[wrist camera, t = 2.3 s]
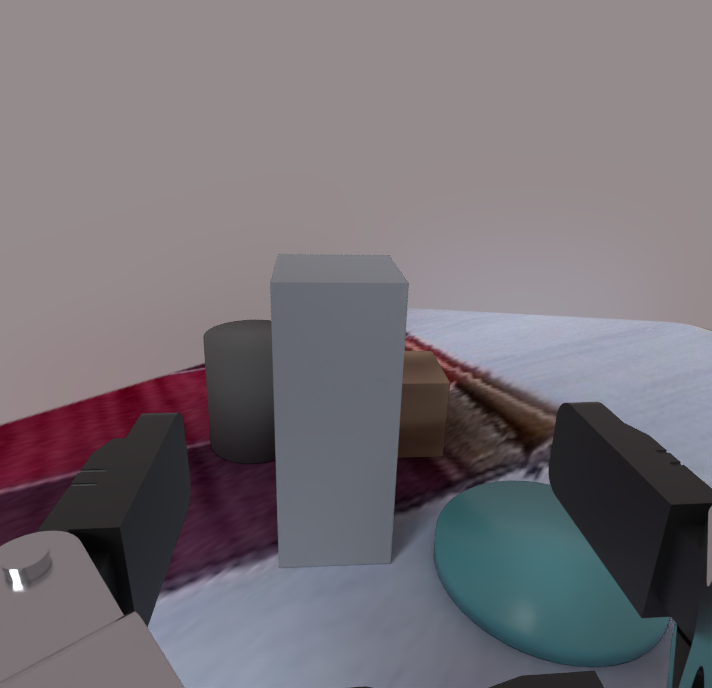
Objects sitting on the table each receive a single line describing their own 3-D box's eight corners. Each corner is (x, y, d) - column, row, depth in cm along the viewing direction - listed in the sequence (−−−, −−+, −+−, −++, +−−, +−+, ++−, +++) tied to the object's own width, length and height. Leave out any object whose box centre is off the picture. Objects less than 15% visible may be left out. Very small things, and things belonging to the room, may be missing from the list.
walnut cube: (442, 457, 32) (450, 383, 31) (360, 459, 32) (363, 384, 30) (425, 417, 37) (431, 351, 35) (354, 418, 37) (356, 351, 35)
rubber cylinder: (256, 474, 30) (253, 360, 28) (191, 442, 33) (182, 336, 30) (318, 435, 34) (320, 332, 32) (256, 409, 37) (253, 314, 35)
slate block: (390, 563, 24) (408, 283, 19) (278, 567, 24) (270, 282, 19) (377, 494, 29) (389, 255, 24) (283, 497, 28) (277, 254, 24)
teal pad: (649, 722, 18) (656, 701, 17) (393, 582, 23) (394, 564, 23) (682, 549, 25) (687, 532, 25) (483, 474, 31) (485, 459, 30)
